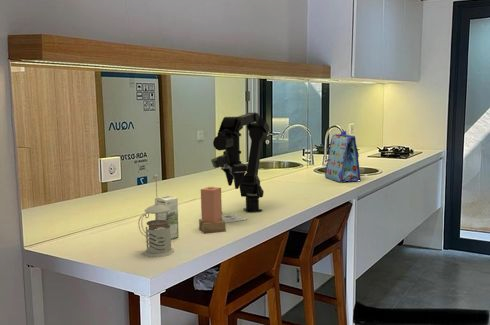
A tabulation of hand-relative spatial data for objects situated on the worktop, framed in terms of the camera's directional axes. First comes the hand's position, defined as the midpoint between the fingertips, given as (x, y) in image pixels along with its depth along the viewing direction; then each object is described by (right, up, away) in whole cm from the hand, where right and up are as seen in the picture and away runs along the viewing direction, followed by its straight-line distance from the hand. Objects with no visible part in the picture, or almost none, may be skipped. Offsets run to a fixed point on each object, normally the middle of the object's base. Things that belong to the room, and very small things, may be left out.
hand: (233, 187), depth 201 cm
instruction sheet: (-1, -13, +3) cm, 13 cm away
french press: (-24, -19, -41) cm, 51 cm away
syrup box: (-23, -17, -25) cm, 37 cm away
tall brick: (-8, -12, -15) cm, 20 cm away
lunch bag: (+62, -1, +95) cm, 113 cm away
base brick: (-7, -15, -15) cm, 22 cm away
